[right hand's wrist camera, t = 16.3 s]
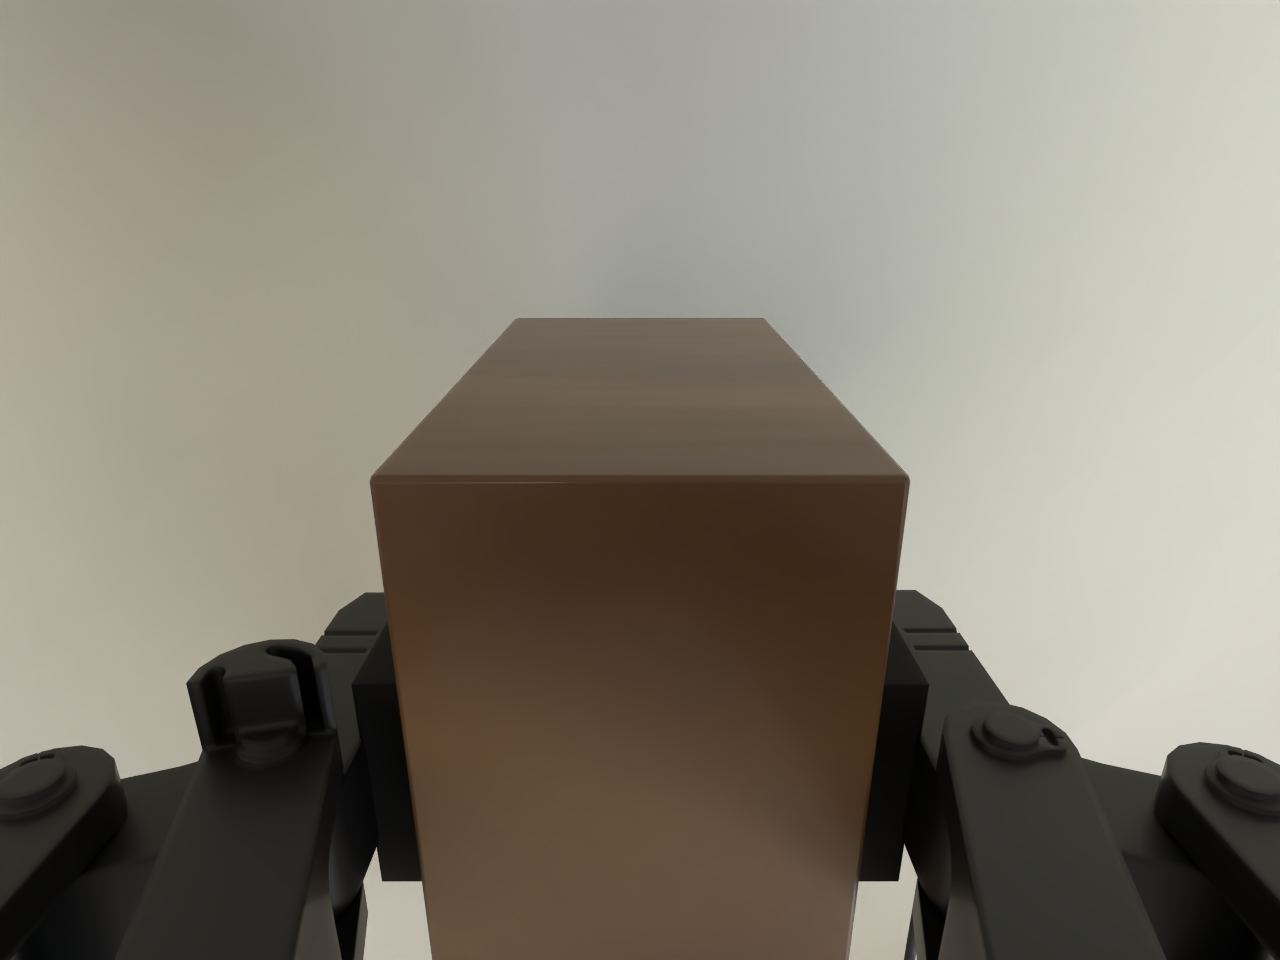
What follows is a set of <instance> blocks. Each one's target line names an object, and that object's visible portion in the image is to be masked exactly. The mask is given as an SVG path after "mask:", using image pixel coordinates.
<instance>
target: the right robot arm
mask: <svg viewBox="0 0 1280 960" xmlns="http://www.w3.org/2000/svg"><path fill="white" fill-rule="evenodd" d="M186 685H187V689H188V693H189V697H190V701H191V705H192V709H193V713H194V717H195V721H196V725H197V729H198V733H199V737H200V741H201V745H202V749H203V751H202V753H201V755H200V758H199V760H198V762H194V763H191V764H187V765H184V766H180V767H176V768H171V769H167V770H162V771H157V772H152V773H148V774H143V775H138V776H134V777H129V778H124V779H120V777H119V773H118V770H117V766H116V763H115V760H114V758H113V757H112V756H110V755H109V754H108V753H107V752H106V751H104V750H103V749H100V748H94V747H87V746H73V747H64V748H55V749H51V750H47V751H43V752H41V753H38V754H37V753H36V754H33V755H30V756H27V757H24V758H22V759H20V760H18V761H16V762H14V763H12V764H10V765H8V766H6V767H4V768H2V769H0V960H363V955H364V946H365V936H366V926H367V917H368V910H367V903H366V896H365V890H364V884H363V880H364V877H365V875H366V872H367V869H368V867H369V864H370V862H371V859H372V857H373V854H374V852H375V849H376V847H377V851H378V858H379V864H380V871H381V877H382V881H422V877H421V869H420V862H419V854H418V846H417V839H416V831H415V824H414V816H413V808H412V801H411V793H410V785H409V778H408V770H407V762H406V755H405V747H404V739H403V732H402V724H401V716H400V709H399V701H398V694H397V686H396V678H395V671H394V663H393V655H392V648H391V640H390V632H389V625H388V617H387V609H386V602H385V594H384V593H364V594H363V595H361V596H360V597H358V598H357V599H355V600H354V601H352V602H351V603H349V604H348V605H346V606H345V607H344V608H342V609H341V610H339V611H338V613H337V614H336V616H335V617H334V619H333V620H332V621H331V623H330V624H329V626H328V627H327V629H326V630H325V634H324V636H321V637H320V639H319V640H318V642H317V643H316V644H315V645H314V644H312V643H307V642H303V641H299V640H295V639H283V640H267V641H262V642H257V643H252V644H247V645H244V646H241V647H238V648H236V649H233V650H231V651H228V652H226V653H223V654H221V655H219V656H217V657H216V658H214V659H212V660H211V661H209V662H208V663H206V664H205V665H203V666H202V667H200V668H199V669H198V670H197V671H196V672H195V673H194V675H193V676H192V677H191V678H190V679H189V681H188V682H187V683H186ZM904 844H905V846H906V849H907V851H908V854H909V857H910V859H911V862H912V864H913V867H914V869H915V872H916V874H917V877H918V878H917V884H916V890H915V896H914V902H913V908H912V914H911V920H910V926H909V932H908V938H907V944H906V950H905V957H904V960H915V956H916V953H917V960H1280V765H1279V764H1277V763H1275V762H1273V761H1271V760H1268V759H1266V758H1264V757H1263V756H1261V755H1259V754H1256V753H1253V752H1250V751H1247V750H1241V748H1236V747H1232V746H1228V745H1221V744H1212V743H1203V742H1198V743H1192V744H1186V745H1180V746H1178V747H1177V748H1176V749H1175V750H1173V751H1172V752H1171V753H1170V754H1168V755H1167V759H1166V762H1165V765H1164V769H1163V772H1162V775H1161V776H1158V775H1153V774H1149V773H1144V772H1139V771H1134V770H1130V769H1125V768H1120V767H1116V766H1111V765H1106V764H1102V763H1098V762H1095V761H1091V760H1087V759H1084V758H1081V756H1080V754H1079V752H1078V749H1077V748H1076V747H1075V745H1074V744H1073V742H1072V741H1071V740H1070V738H1069V737H1068V736H1067V734H1066V733H1065V732H1064V731H1062V730H1061V729H1060V728H1058V727H1057V726H1056V725H1054V724H1053V723H1052V722H1050V721H1049V720H1048V719H1046V718H1044V717H1042V716H1040V715H1037V714H1035V713H1033V712H1031V711H1029V710H1026V709H1024V708H1022V707H1017V706H1013V705H1010V704H1009V703H1008V702H1007V700H1006V699H1005V697H1004V696H1003V694H1002V693H1001V692H1000V690H999V689H998V687H997V686H996V684H995V683H994V682H993V680H992V679H991V677H990V676H989V674H988V673H987V672H986V670H985V669H984V667H983V666H982V664H981V663H980V662H979V660H978V659H977V657H976V656H975V654H974V653H973V652H972V651H969V646H968V644H967V643H966V642H965V640H964V639H963V637H962V636H961V635H960V633H957V631H956V627H955V626H954V625H953V623H952V622H951V620H950V619H949V617H948V616H947V615H946V613H945V612H944V610H943V609H942V608H941V607H940V606H938V605H937V604H935V603H934V602H932V601H931V600H929V599H928V598H926V597H925V596H923V595H922V594H920V593H919V592H917V591H916V590H896V595H895V602H894V610H893V618H892V626H891V633H890V641H889V649H888V657H887V665H886V672H885V680H884V688H883V696H882V703H881V711H880V719H879V727H878V734H877V742H876V750H875V758H874V765H873V773H872V781H871V789H870V796H869V804H868V812H867V820H866V828H865V835H864V843H863V851H862V859H861V866H860V874H859V881H898V880H899V874H900V868H901V861H902V855H903V848H904Z"/></svg>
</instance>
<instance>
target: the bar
mask: <svg viewBox="0 0 1280 960" xmlns="http://www.w3.org/2000/svg"><path fill="white" fill-rule="evenodd" d="M909 486H910V479H909V476H908V475H907V474H906V473H905V472H904V470H903V469H902V468H901V467H900V466H899V465H898V464H897V463H896V462H895V461H894V460H893V458H892V457H891V456H890V455H889V454H888V453H887V452H886V451H885V450H884V449H883V448H882V447H881V445H880V444H879V443H878V442H877V441H876V440H875V439H874V438H873V437H872V436H871V435H870V433H869V432H868V431H867V430H866V429H865V428H864V427H863V426H862V425H861V424H860V423H859V421H858V420H857V419H856V418H855V417H854V416H853V415H852V414H851V413H850V412H849V411H848V409H847V408H846V407H845V406H844V405H843V404H842V403H841V402H840V401H839V400H838V399H837V397H836V396H835V395H834V394H833V393H832V392H831V391H830V390H829V389H828V388H827V387H826V386H825V384H824V383H823V382H822V381H821V380H820V379H819V378H818V377H817V376H816V375H815V374H814V372H813V371H812V370H811V369H810V368H809V367H808V366H807V365H806V364H805V363H804V362H803V360H802V359H801V358H800V357H799V356H798V355H797V354H796V353H795V352H794V351H793V350H792V348H791V347H790V346H789V345H788V344H787V343H786V342H785V341H784V340H783V339H782V338H781V337H780V335H779V334H778V333H777V332H776V331H775V330H774V329H773V328H772V327H771V326H770V325H769V323H768V322H767V321H766V320H765V319H763V318H518V319H515V321H514V322H513V323H512V324H511V325H510V326H509V327H508V328H507V329H506V330H505V331H504V333H503V334H502V335H501V336H500V337H499V338H498V339H497V340H496V341H495V342H494V343H493V345H492V346H491V347H490V348H489V349H488V350H487V351H486V352H485V353H484V354H483V355H482V356H481V358H480V359H479V360H478V361H477V362H476V363H475V364H474V365H473V366H472V367H471V368H470V370H469V371H468V372H467V373H466V374H465V375H464V376H463V377H462V378H461V379H460V380H459V382H458V383H457V384H456V385H455V386H454V387H453V388H452V389H451V390H450V391H449V392H448V393H447V395H446V396H445V397H444V398H443V399H442V400H441V401H440V402H439V403H438V404H437V405H436V407H435V408H434V409H433V410H432V411H431V412H430V413H429V414H428V415H427V416H426V417H425V419H424V420H423V421H422V422H421V423H420V424H419V425H418V426H417V427H416V428H415V429H414V430H413V432H412V433H411V434H410V435H409V436H408V437H407V438H406V439H405V440H404V441H403V442H402V444H401V445H400V446H399V447H398V448H397V449H396V450H395V451H394V452H393V453H392V454H391V456H390V457H389V458H388V459H387V460H386V461H385V462H384V463H383V464H382V465H381V466H380V467H379V469H378V470H377V471H376V472H375V473H374V474H373V475H372V476H371V479H370V487H371V495H372V502H373V510H374V518H375V525H376V533H377V541H378V548H379V556H380V564H381V571H382V579H383V587H384V594H385V602H386V609H387V617H388V625H389V632H390V640H391V648H392V655H393V663H394V671H395V678H396V686H397V694H398V701H399V709H400V716H401V724H402V732H403V739H404V747H405V755H406V762H407V770H408V778H409V785H410V793H411V801H412V808H413V816H414V824H415V831H416V839H417V846H418V854H419V862H420V869H421V877H422V885H423V892H424V900H425V908H426V915H427V923H428V931H429V938H430V946H431V953H432V960H848V959H849V952H850V944H851V936H852V928H853V921H854V913H855V905H856V897H857V890H858V882H859V874H860V866H861V859H862V851H863V843H864V835H865V828H866V820H867V812H868V804H869V796H870V789H871V781H872V773H873V765H874V758H875V750H876V742H877V734H878V727H879V719H880V711H881V703H882V696H883V688H884V680H885V672H886V665H887V657H888V649H889V641H890V633H891V626H892V618H893V610H894V602H895V595H896V587H897V579H898V571H899V564H900V556H901V548H902V540H903V533H904V525H905V517H906V509H907V502H908V494H909Z"/></svg>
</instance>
